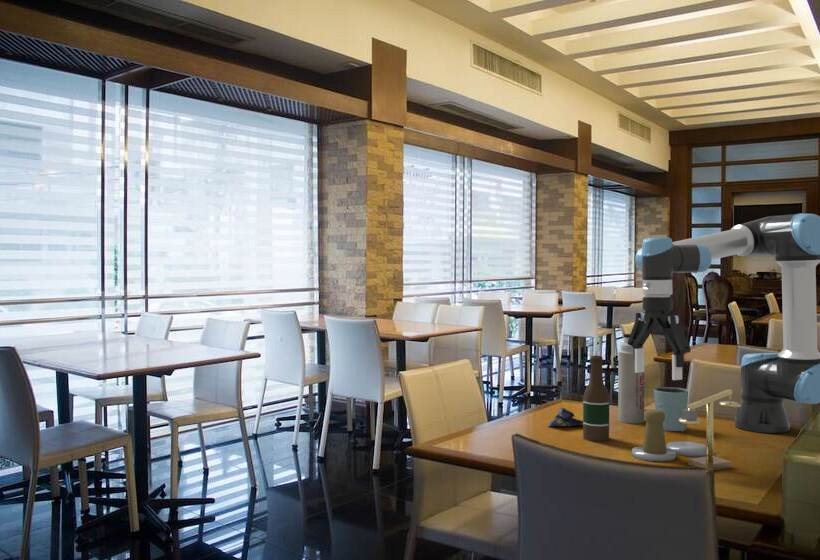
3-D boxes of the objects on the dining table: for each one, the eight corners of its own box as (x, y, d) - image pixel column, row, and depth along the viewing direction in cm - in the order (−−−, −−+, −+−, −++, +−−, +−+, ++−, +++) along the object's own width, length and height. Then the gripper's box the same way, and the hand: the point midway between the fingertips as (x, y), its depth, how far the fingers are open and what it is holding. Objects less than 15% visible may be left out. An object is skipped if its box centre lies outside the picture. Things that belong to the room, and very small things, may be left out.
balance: (727, 458, 182) (727, 386, 181) (746, 465, 176) (747, 390, 176) (672, 467, 174) (672, 392, 174) (690, 474, 169) (691, 396, 168)
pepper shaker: (668, 454, 181) (668, 412, 181) (643, 453, 183) (643, 411, 182) (665, 448, 187) (665, 407, 187) (641, 447, 188) (641, 407, 188)
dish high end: (688, 444, 197) (688, 439, 197) (719, 453, 187) (719, 449, 187) (657, 448, 193) (657, 443, 192) (688, 458, 182) (688, 453, 182)
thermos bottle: (649, 421, 224) (650, 334, 224) (631, 424, 221) (631, 335, 220) (631, 417, 232) (631, 332, 231) (612, 419, 228) (613, 333, 227)
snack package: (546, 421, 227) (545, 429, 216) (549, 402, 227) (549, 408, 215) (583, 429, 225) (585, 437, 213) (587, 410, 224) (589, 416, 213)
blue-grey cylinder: (677, 433, 209) (678, 393, 208) (646, 428, 216) (646, 389, 216) (694, 428, 215) (694, 389, 215) (663, 423, 223) (663, 385, 223)
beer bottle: (578, 435, 207) (579, 354, 206) (604, 435, 208) (604, 354, 207) (587, 442, 199) (587, 358, 199) (614, 441, 200) (614, 357, 199)
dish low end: (654, 448, 192) (654, 444, 192) (685, 458, 182) (685, 454, 182) (622, 453, 188) (622, 448, 188) (652, 463, 178) (652, 459, 178)
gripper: (614, 294, 196) (614, 370, 196) (682, 298, 173) (683, 384, 173) (635, 293, 199) (635, 368, 199) (705, 297, 176) (705, 381, 176)
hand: (657, 375), depth 186 cm, fingers open, 13 cm apart
